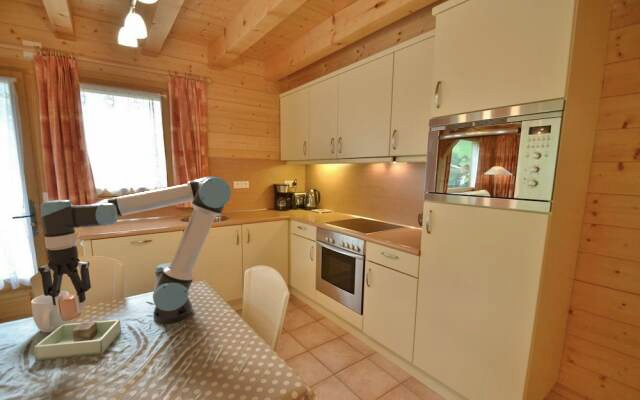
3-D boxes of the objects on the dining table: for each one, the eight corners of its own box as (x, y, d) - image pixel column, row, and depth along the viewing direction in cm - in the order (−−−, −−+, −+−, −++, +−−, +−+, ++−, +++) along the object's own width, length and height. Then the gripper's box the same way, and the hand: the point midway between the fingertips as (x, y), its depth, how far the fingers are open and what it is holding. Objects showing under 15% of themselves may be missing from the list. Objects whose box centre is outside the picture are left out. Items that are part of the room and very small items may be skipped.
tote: (121, 331, 111) (120, 319, 110) (101, 354, 98) (100, 340, 97) (63, 336, 107) (62, 324, 106) (35, 360, 94) (33, 347, 93)
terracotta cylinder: (84, 312, 100) (81, 293, 99) (75, 319, 95) (73, 300, 94) (67, 314, 99) (65, 295, 98) (58, 322, 94) (55, 302, 93)
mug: (67, 335, 108) (64, 303, 106) (27, 345, 102) (23, 311, 100) (74, 317, 120) (71, 288, 119) (38, 325, 114) (35, 295, 113)
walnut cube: (97, 333, 108) (96, 321, 107) (89, 341, 103) (88, 329, 102) (82, 335, 107) (81, 322, 106) (73, 343, 102) (72, 330, 101)
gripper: (98, 241, 99) (106, 303, 102) (37, 245, 95) (47, 310, 98) (86, 247, 92) (95, 314, 95) (20, 252, 88) (31, 321, 91)
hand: (71, 311), depth 97 cm, fingers closed on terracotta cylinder, 5 cm apart
